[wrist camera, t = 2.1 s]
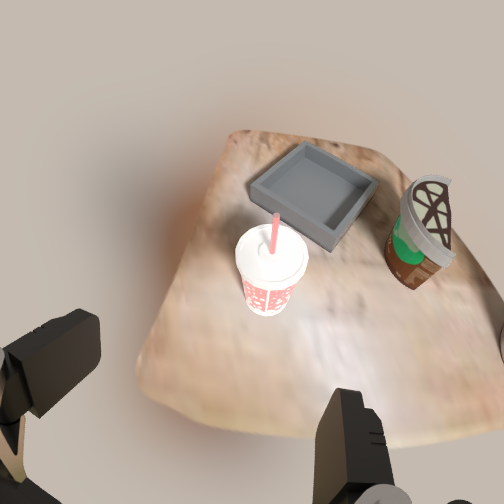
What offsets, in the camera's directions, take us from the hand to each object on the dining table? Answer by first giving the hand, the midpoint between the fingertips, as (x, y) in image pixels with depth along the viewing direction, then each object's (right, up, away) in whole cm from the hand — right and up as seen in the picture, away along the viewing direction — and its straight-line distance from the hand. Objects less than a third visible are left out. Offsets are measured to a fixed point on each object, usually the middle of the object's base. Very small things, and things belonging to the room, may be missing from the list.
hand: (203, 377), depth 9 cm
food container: (+20, +4, +27) cm, 34 cm away
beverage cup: (+3, -1, +24) cm, 24 cm away
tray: (+10, +11, +31) cm, 35 cm away
